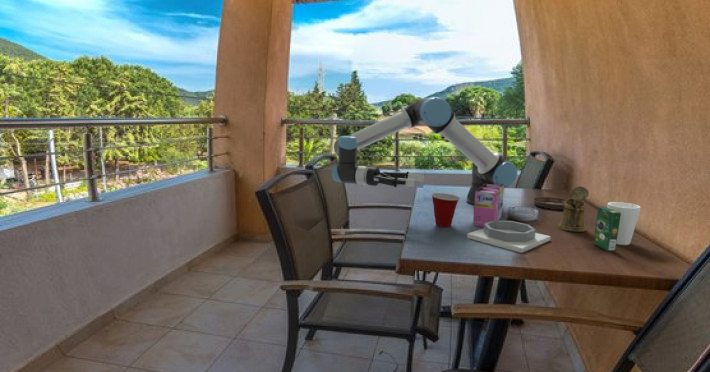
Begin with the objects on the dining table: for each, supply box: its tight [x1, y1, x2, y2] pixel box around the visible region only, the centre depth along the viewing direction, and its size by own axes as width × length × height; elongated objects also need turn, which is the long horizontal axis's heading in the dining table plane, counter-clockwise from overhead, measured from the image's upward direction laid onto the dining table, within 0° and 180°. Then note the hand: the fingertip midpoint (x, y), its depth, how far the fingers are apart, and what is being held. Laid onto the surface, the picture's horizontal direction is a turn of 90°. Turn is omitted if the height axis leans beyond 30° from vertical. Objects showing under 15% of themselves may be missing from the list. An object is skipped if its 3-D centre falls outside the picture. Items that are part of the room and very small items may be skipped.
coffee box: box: [593, 206, 621, 253], centre depth 134 cm, size 8×3×13 cm, turn 2°
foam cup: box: [606, 201, 642, 246], centre depth 141 cm, size 10×9×13 cm
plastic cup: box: [431, 192, 461, 228], centre depth 159 cm, size 11×11×12 cm
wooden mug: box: [558, 186, 590, 233], centre depth 153 cm, size 9×14×18 cm, turn 160°
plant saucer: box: [532, 196, 567, 210], centre depth 195 cm, size 18×18×3 cm
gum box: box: [472, 183, 505, 228], centre depth 168 cm, size 24×8×14 cm, turn 153°
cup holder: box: [466, 220, 551, 253], centre depth 143 cm, size 20×20×4 cm
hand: (419, 180), depth 161 cm, fingers open, 13 cm apart
